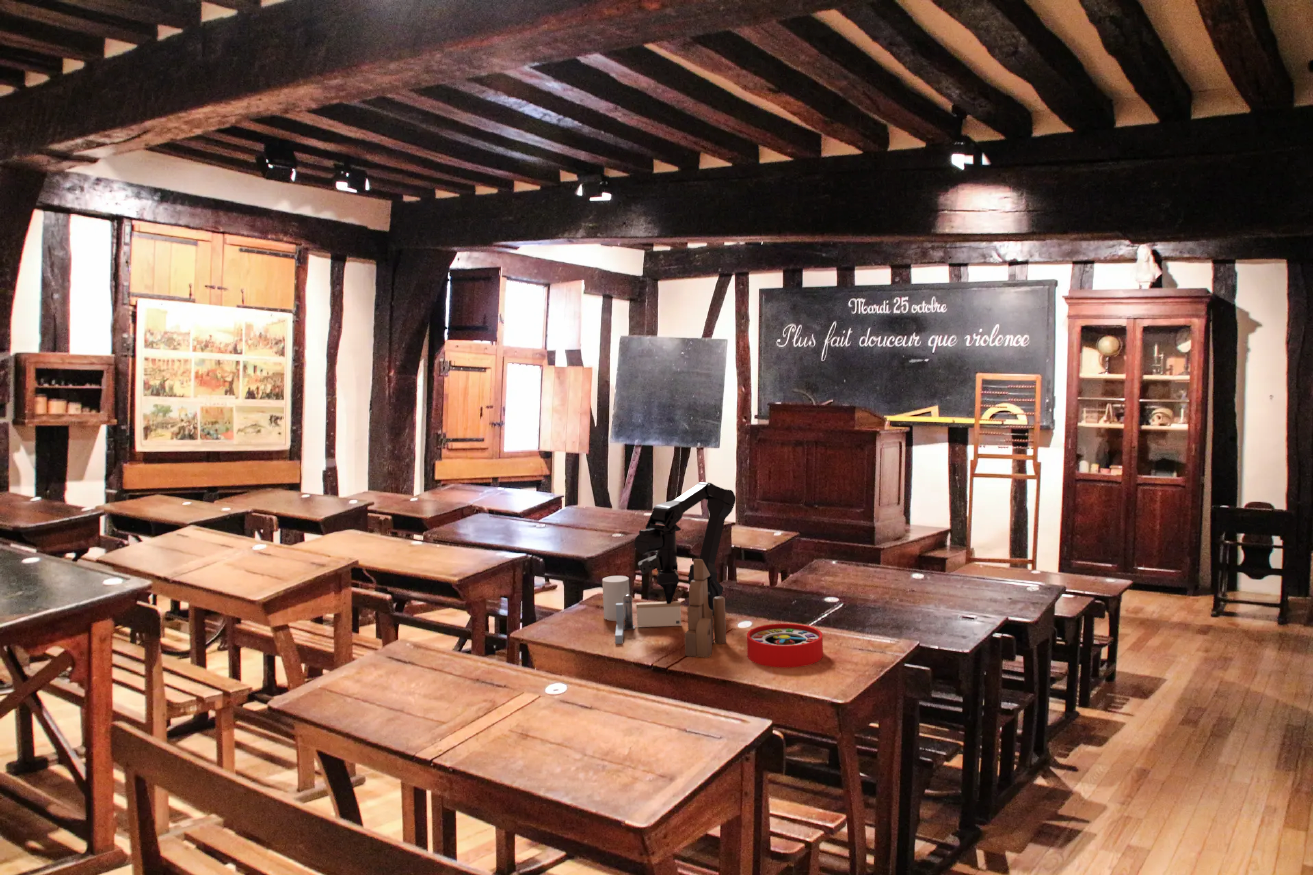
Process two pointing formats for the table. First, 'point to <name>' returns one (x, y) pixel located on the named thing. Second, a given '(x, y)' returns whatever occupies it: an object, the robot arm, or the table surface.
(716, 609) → the wooden toy
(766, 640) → the toy clock
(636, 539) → the robot arm
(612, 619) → the off-white flat-topped cylinder
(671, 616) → the beige flat block
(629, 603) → the grey metallic round-topped post
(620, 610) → the strip
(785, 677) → the table surface
